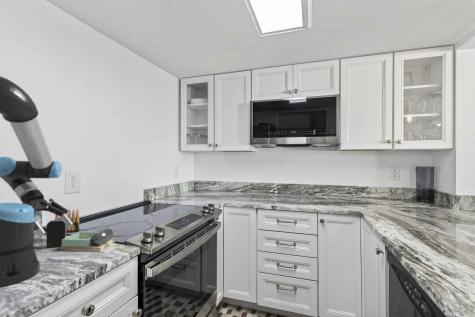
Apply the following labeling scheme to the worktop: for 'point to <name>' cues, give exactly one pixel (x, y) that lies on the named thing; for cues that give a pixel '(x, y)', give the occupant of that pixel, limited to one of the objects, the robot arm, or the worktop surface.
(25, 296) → the worktop surface
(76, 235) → the mint green tray
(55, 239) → the battery charger
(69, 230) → the ammunition clip
